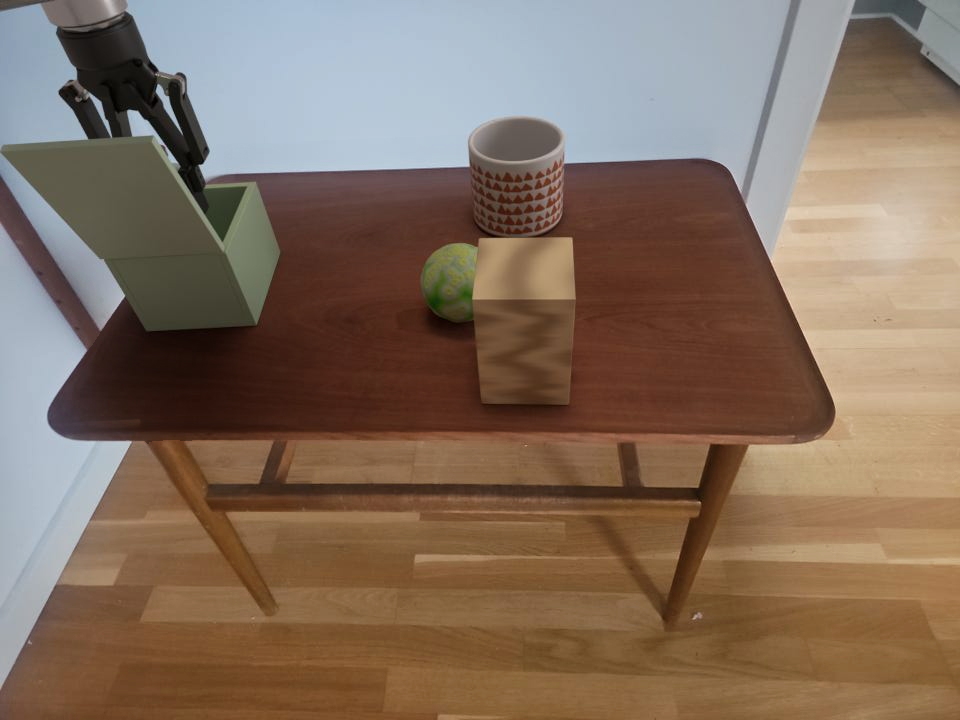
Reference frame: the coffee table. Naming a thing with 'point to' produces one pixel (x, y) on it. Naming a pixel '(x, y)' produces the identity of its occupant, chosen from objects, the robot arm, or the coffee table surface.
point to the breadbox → (208, 269)
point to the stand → (524, 319)
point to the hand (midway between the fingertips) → (182, 213)
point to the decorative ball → (450, 281)
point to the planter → (517, 176)
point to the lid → (117, 195)
